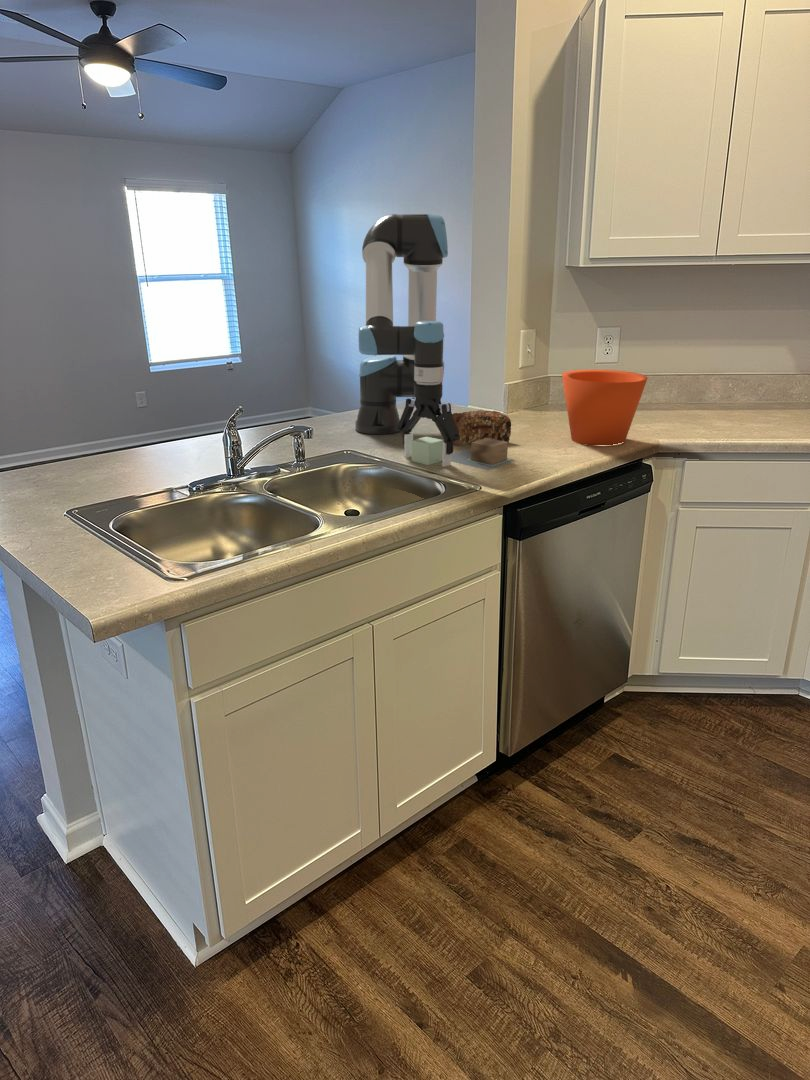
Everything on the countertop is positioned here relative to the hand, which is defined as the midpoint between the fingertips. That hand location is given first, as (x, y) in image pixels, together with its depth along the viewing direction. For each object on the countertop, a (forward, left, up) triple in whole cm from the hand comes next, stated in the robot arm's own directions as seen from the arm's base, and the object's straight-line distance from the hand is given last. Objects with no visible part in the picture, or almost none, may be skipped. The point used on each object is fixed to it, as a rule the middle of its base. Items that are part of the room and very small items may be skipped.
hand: (427, 461), depth 202 cm
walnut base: (+12, +12, 0) cm, 17 cm away
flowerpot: (+20, +58, -1) cm, 61 cm away
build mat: (+9, +11, -1) cm, 14 cm away
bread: (-5, +29, -2) cm, 30 cm away
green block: (0, 0, -1) cm, 1 cm away
